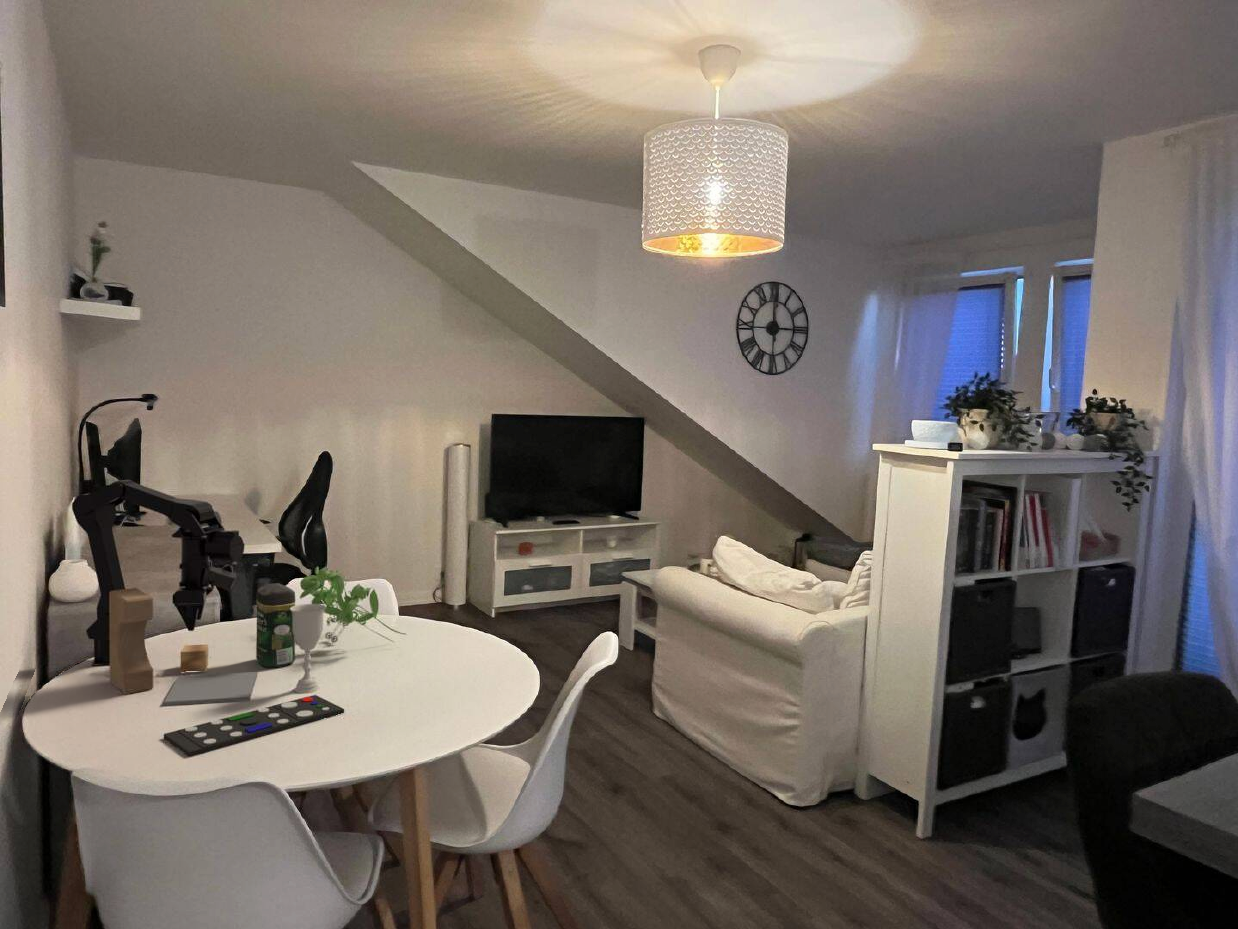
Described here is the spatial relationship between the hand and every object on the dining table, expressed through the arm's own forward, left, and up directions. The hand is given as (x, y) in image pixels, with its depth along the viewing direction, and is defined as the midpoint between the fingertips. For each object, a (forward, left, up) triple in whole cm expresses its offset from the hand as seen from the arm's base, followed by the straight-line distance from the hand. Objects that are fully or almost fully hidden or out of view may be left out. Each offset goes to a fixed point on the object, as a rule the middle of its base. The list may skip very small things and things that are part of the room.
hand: (194, 625), depth 193 cm
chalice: (+25, -18, -10) cm, 33 cm away
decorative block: (-11, -9, -10) cm, 18 cm away
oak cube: (0, 0, -10) cm, 10 cm away
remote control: (+17, -37, -11) cm, 42 cm away
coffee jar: (+17, +2, -10) cm, 20 cm away
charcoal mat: (+6, -15, -10) cm, 19 cm away
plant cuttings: (+34, +17, -10) cm, 40 cm away
